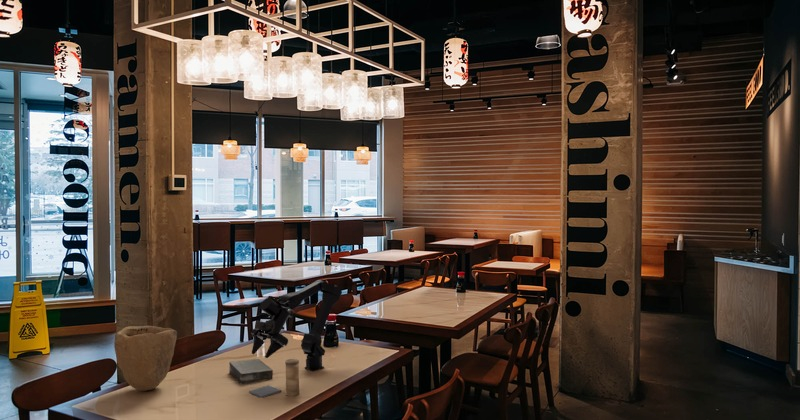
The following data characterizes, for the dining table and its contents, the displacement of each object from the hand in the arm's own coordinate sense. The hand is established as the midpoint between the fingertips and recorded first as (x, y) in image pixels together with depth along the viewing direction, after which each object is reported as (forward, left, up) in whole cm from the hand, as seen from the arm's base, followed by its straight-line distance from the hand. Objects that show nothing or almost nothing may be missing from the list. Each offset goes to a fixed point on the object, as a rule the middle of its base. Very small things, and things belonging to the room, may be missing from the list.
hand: (259, 355), depth 219 cm
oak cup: (-3, +19, -12) cm, 22 cm away
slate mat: (+3, +9, -12) cm, 15 cm away
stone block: (-5, -15, -13) cm, 20 cm away
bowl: (+33, -29, -12) cm, 46 cm away
